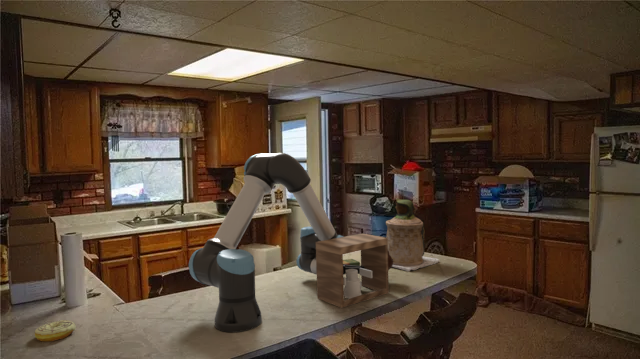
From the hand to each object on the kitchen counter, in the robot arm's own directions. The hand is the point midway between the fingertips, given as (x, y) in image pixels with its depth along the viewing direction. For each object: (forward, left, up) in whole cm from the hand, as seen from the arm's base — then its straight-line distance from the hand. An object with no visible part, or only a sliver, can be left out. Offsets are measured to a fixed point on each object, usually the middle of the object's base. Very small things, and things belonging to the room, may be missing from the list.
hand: (358, 278), depth 163 cm
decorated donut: (-94, +38, -8) cm, 102 cm away
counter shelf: (0, +3, -7) cm, 8 cm away
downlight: (0, +3, -8) cm, 8 cm away
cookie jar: (+52, +23, -8) cm, 57 cm away
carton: (+21, +35, -8) cm, 41 cm away
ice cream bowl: (+20, +8, -8) cm, 23 cm away
